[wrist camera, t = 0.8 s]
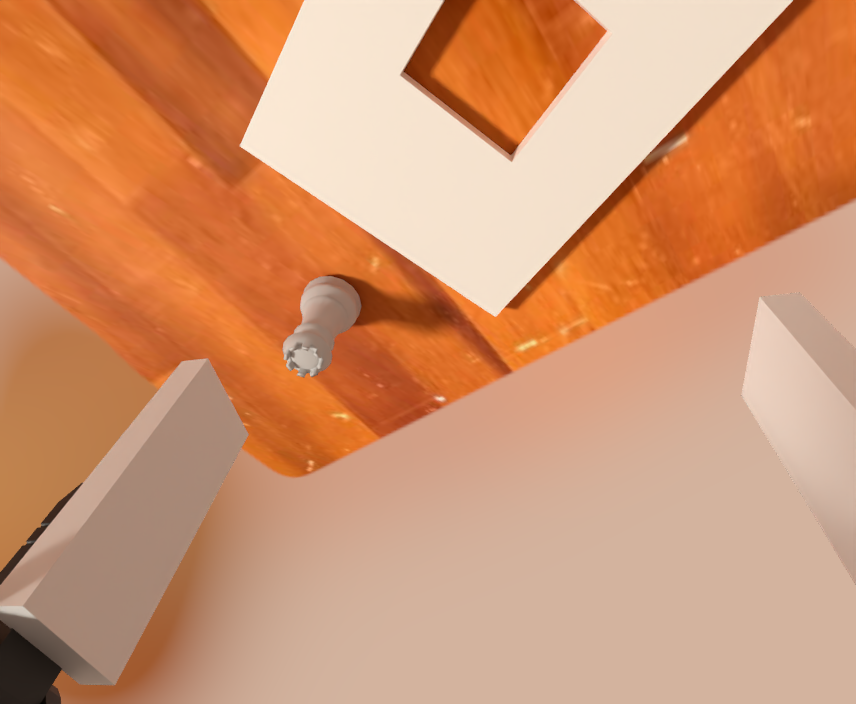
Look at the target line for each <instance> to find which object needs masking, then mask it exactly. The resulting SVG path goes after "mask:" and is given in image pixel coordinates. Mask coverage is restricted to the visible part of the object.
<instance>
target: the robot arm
mask: <svg viewBox="0 0 856 704" xmlns="http://www.w3.org/2000/svg"><path fill="white" fill-rule="evenodd" d="M742 397H743V399H744V401H745V402H746V404H747V406H748V407H749V409H750V411H751V412H752V414H753V416H754V417H755V419H756V421H757V422H758V424H759V426H760V427H761V429H762V431H763V432H764V434H765V435H766V437H767V439H768V440H769V442H770V443H771V445H772V447H773V449H774V450H775V452H776V454H777V455H778V457H779V459H780V460H781V462H782V464H783V465H784V467H785V469H786V470H787V472H788V474H789V475H790V477H791V478H792V480H793V482H794V484H795V485H796V487H797V488H798V490H799V492H800V493H801V495H802V497H803V498H804V500H805V502H806V503H807V505H808V507H809V508H810V510H811V512H812V513H813V515H814V517H815V518H816V520H817V522H818V523H819V525H820V527H821V528H822V530H823V532H824V533H825V535H826V536H827V538H828V540H829V541H830V543H831V545H832V546H833V548H834V550H835V551H836V553H837V554H838V556H839V558H840V560H841V561H842V563H843V565H844V566H845V568H846V570H847V571H848V573H849V575H850V576H851V578H852V580H853V581H854V583H855V585H856V349H855V348H854V347H853V346H852V345H851V344H850V343H849V342H848V341H847V340H846V339H845V338H844V337H843V336H842V335H841V334H840V333H839V332H838V331H837V330H836V329H835V328H834V327H833V326H832V324H830V323H829V321H828V320H827V319H825V317H824V316H823V315H822V314H821V313H820V312H819V311H818V310H817V309H816V308H815V307H814V306H812V305H811V303H810V302H809V301H808V300H807V299H806V298H805V297H804V296H802V294H801V293H790V294H781V295H773V296H764V297H760V298H759V303H758V309H757V314H756V321H755V325H754V330H753V336H752V341H751V347H750V352H749V358H748V363H747V369H746V374H745V380H744V385H743V390H742ZM248 435H249V434H248V432H247V431H246V429H245V427H244V425H243V423H242V421H241V419H240V418H239V416H238V414H237V412H236V410H235V408H234V406H233V404H232V403H231V401H230V399H229V397H228V395H227V393H226V391H225V389H224V388H223V386H222V384H221V382H220V380H219V378H218V376H217V374H216V373H215V371H214V369H213V367H212V365H211V363H210V361H209V359H199V360H190V361H182V362H181V363H180V364H179V366H178V367H177V368H176V369H175V371H174V372H173V373H172V374H171V376H170V377H169V378H168V379H167V380H166V382H165V383H164V384H163V385H162V387H161V388H160V389H159V390H158V392H157V393H156V394H155V395H154V397H153V398H152V399H151V400H150V401H149V403H148V404H147V405H146V406H145V408H144V409H143V410H142V411H141V413H140V414H139V415H138V416H137V418H136V419H135V420H134V421H133V422H132V424H131V425H130V426H129V427H128V429H127V430H126V431H125V432H124V433H123V435H122V436H121V437H120V438H119V440H118V441H117V442H116V443H115V445H114V446H113V447H112V448H111V450H110V451H109V452H108V453H107V454H106V456H105V457H104V458H103V459H102V461H101V462H100V463H99V464H98V465H97V467H96V468H95V469H94V470H93V472H92V473H91V474H90V475H89V477H88V478H87V479H86V480H85V482H84V483H81V484H80V485H79V486H78V487H76V488H75V489H74V490H73V491H72V492H70V493H69V494H68V495H67V496H66V497H64V498H63V499H62V500H61V501H59V502H58V503H57V505H56V506H55V507H54V508H53V510H52V511H51V512H50V513H49V514H48V516H47V517H46V518H45V519H44V521H43V522H42V523H41V525H42V526H41V527H40V528H37V529H36V530H35V531H34V532H33V534H32V535H31V536H30V537H29V538H28V540H27V544H26V545H25V546H22V547H21V548H20V549H19V551H18V552H17V553H16V554H15V555H14V557H13V558H12V559H11V560H10V561H9V563H8V564H7V565H6V567H5V568H4V569H3V570H2V571H1V572H0V704H61V697H60V694H59V691H58V689H57V688H56V687H55V686H53V685H52V684H53V683H54V681H55V679H56V678H57V676H58V674H59V673H60V671H61V670H63V671H64V672H65V673H67V674H68V675H69V676H70V677H72V678H73V679H74V680H75V681H77V682H78V683H79V684H86V685H88V684H89V685H115V684H116V682H117V680H118V678H119V676H120V674H121V672H122V671H123V669H124V667H125V665H126V663H127V661H128V659H129V658H130V656H131V654H132V652H133V650H134V648H135V646H136V644H137V643H138V640H139V639H140V637H141V635H142V633H143V631H144V629H145V628H146V626H147V624H148V622H149V620H150V618H151V616H152V615H153V613H154V611H155V609H156V607H157V605H158V603H159V601H160V600H161V598H162V595H163V594H164V592H165V590H166V588H167V586H168V584H169V583H170V581H171V579H172V577H173V575H174V573H175V571H176V569H177V568H178V566H179V564H180V562H181V560H182V558H183V556H184V554H185V553H186V551H187V549H188V547H189V545H190V543H191V541H192V540H193V538H194V536H195V534H196V532H197V530H198V528H199V526H200V524H201V523H202V521H203V519H204V517H205V515H206V513H207V512H208V510H209V508H210V506H211V504H212V502H213V500H214V498H215V496H216V495H217V493H218V491H219V489H220V487H221V485H222V483H223V482H224V480H225V478H226V476H227V474H228V472H229V470H230V468H231V466H232V465H233V463H234V461H235V459H236V457H237V455H238V453H239V452H240V450H241V448H242V446H243V444H244V442H245V440H246V438H247V437H248Z"/></svg>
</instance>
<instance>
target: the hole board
mask: <svg viewBox="0 0 856 704" xmlns="http://www.w3.org/2000/svg"><path fill="white" fill-rule="evenodd" d="M444 1H445V0H304V2H303V5H302V7H301V9H300V11H299V14H298V16H297V18H296V20H295V23H294V25H293V27H292V29H291V32H290V34H289V36H288V38H287V41H286V43H285V45H284V47H283V50H282V52H281V54H280V56H279V59H278V61H277V63H276V65H275V68H274V70H273V72H272V75H271V77H270V79H269V81H268V84H267V86H266V88H265V90H264V93H263V95H262V97H261V99H260V102H259V104H258V106H257V108H256V111H255V113H254V115H253V117H252V120H251V122H250V124H249V126H248V129H247V131H246V133H245V135H244V138H243V140H242V142H241V144H240V147H242V148H243V149H245V150H246V151H248V152H249V153H251V154H252V155H254V156H255V157H257V158H258V159H260V160H261V161H263V162H264V163H266V164H267V165H269V166H270V167H272V168H273V169H275V170H276V171H278V172H279V173H281V174H282V175H284V176H285V177H287V178H288V179H290V180H291V181H293V182H294V183H296V184H297V185H299V186H300V187H302V188H303V189H305V190H306V191H308V192H309V193H311V194H312V195H314V196H315V197H317V198H318V199H320V200H321V201H323V202H324V203H326V204H327V205H329V206H330V207H332V208H333V209H335V210H336V211H338V212H339V213H341V214H342V215H344V216H345V217H347V218H348V219H349V220H351V221H352V222H354V223H355V224H357V225H358V226H360V227H361V228H363V229H364V230H366V231H367V232H369V233H370V234H372V235H373V236H375V237H376V238H378V239H379V240H381V241H382V242H384V243H385V244H387V245H388V246H390V247H391V248H393V249H394V250H396V251H397V252H399V253H400V254H402V255H403V256H405V257H406V258H408V259H409V260H411V261H412V262H414V263H415V264H417V265H418V266H420V267H421V268H423V269H424V270H426V271H427V272H429V273H430V274H432V275H433V276H435V277H436V278H438V279H439V280H441V281H442V282H444V283H445V284H447V285H448V286H450V287H451V288H453V289H454V290H456V291H457V292H459V293H460V294H462V295H463V296H465V297H466V298H468V299H469V300H471V301H472V302H474V303H475V304H477V305H478V306H480V307H481V308H483V309H484V310H486V311H487V312H489V313H490V314H492V315H493V316H495V317H496V316H497V315H498V314H499V313H500V312H501V310H502V309H503V308H504V307H505V306H506V305H507V304H508V303H509V302H510V301H511V300H512V299H513V298H514V297H515V296H516V294H517V293H518V292H519V291H520V290H521V289H522V288H523V287H524V286H525V285H526V284H527V283H528V282H529V281H530V280H531V279H532V277H533V276H534V275H535V274H536V273H537V272H538V271H539V270H540V269H541V268H542V267H543V266H544V265H545V264H546V263H547V262H548V260H549V259H550V258H551V257H552V256H553V255H554V254H555V253H556V252H557V251H558V250H559V249H560V248H561V247H562V246H563V245H564V243H565V242H566V241H567V240H568V239H569V238H570V237H571V236H572V235H573V234H574V233H575V232H576V231H577V230H578V229H579V227H580V226H581V225H582V224H583V223H584V222H585V221H586V220H587V219H588V218H589V217H590V216H591V215H592V214H593V213H594V212H595V210H596V209H597V208H598V207H599V206H600V205H601V204H602V203H603V202H604V201H605V200H606V199H607V198H608V197H609V196H610V195H611V193H612V192H613V191H614V190H615V189H616V188H617V187H618V186H619V185H620V184H621V183H622V182H623V181H624V180H625V179H626V178H627V176H628V175H629V174H630V173H631V172H632V171H633V170H634V169H635V168H636V167H637V166H638V165H639V164H640V163H641V162H642V160H643V159H644V158H645V157H646V156H647V155H648V154H649V153H650V152H651V151H652V150H653V149H654V148H655V147H656V146H657V145H658V143H659V142H660V141H661V140H662V139H663V138H664V137H665V136H666V135H667V134H668V133H669V132H670V131H671V130H672V129H673V128H674V126H675V125H676V124H677V123H678V122H679V121H680V120H681V119H682V118H683V117H684V116H685V115H686V114H687V113H688V112H689V110H690V109H691V108H692V107H693V106H694V105H695V104H696V103H697V102H698V101H699V100H700V99H701V98H702V97H703V96H704V95H705V93H706V92H707V91H708V90H709V89H710V88H711V87H712V86H713V85H714V84H715V83H716V82H717V81H718V80H719V79H720V78H721V76H722V75H723V74H724V73H725V72H726V71H727V70H728V69H729V68H730V67H731V66H732V65H733V64H734V63H735V62H736V61H737V59H738V58H739V57H740V56H741V55H742V54H743V53H744V52H745V51H746V50H747V49H748V48H749V47H750V46H751V45H752V43H753V42H754V41H755V40H756V39H757V38H758V37H759V36H760V35H761V34H762V33H763V32H764V31H765V30H766V29H767V28H768V26H769V25H770V24H771V23H772V22H773V21H774V20H775V19H776V18H777V17H778V16H779V15H780V14H781V13H782V12H783V11H784V9H785V8H786V7H787V6H788V5H789V4H790V3H791V2H792V1H793V0H574V1H575V2H576V3H577V4H578V5H579V6H581V7H582V8H583V9H584V10H585V11H586V12H587V13H588V14H589V15H590V16H591V17H592V18H594V19H595V20H596V21H597V22H598V23H599V24H600V25H601V26H602V27H603V28H604V29H606V30H607V32H606V34H605V35H604V36H603V38H602V39H601V40H600V41H599V43H598V44H597V45H596V47H595V48H594V49H593V50H592V52H591V53H590V54H589V56H588V57H587V58H586V59H585V61H584V62H583V63H582V65H581V66H580V67H579V68H578V70H577V71H576V72H575V74H574V75H573V76H572V77H571V79H570V80H569V81H568V83H567V84H566V85H565V86H564V88H563V89H562V90H561V92H560V93H559V94H558V96H557V97H556V98H555V99H554V101H553V102H552V103H551V105H550V106H549V107H548V108H547V110H546V111H545V112H544V114H543V115H542V116H541V117H540V119H539V120H538V121H537V123H536V124H535V125H534V126H533V128H532V129H531V130H530V132H529V133H528V134H527V135H526V137H525V138H524V139H523V141H522V142H521V143H520V145H519V146H518V147H517V148H516V150H515V151H514V152H513V154H512V155H510V154H508V153H507V152H506V151H505V150H503V149H502V148H501V147H499V146H498V145H497V144H496V143H494V142H493V141H492V140H491V139H489V138H488V137H487V136H485V135H484V134H483V133H482V132H480V131H479V130H478V129H476V128H475V127H474V126H473V125H471V124H470V123H469V122H467V121H466V120H465V119H464V118H462V117H461V116H460V115H459V114H457V113H456V112H455V111H453V110H452V109H451V108H450V107H448V106H447V105H446V104H444V103H443V102H442V101H441V100H439V99H438V98H437V97H436V96H434V95H433V94H432V93H430V92H429V91H428V90H427V89H425V88H424V87H423V86H421V85H420V84H419V83H418V82H416V81H415V80H414V79H412V78H411V77H410V76H409V75H407V74H406V73H405V72H404V69H405V68H406V66H407V64H408V63H409V61H410V59H411V57H412V56H413V54H414V52H415V51H416V49H417V47H418V45H419V44H420V42H421V40H422V39H423V37H424V35H425V34H426V32H427V30H428V28H429V27H430V25H431V23H432V22H433V20H434V18H435V16H436V15H437V13H438V11H439V10H440V8H441V6H442V5H443V3H444Z"/></svg>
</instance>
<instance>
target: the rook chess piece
mask: <svg viewBox="0 0 856 704" xmlns="http://www.w3.org/2000/svg"><path fill="white" fill-rule="evenodd" d="M300 309H301V312H302V316H303V320H302V324H301V325H299V326H298V327H297V328H296V329H295V331H294V334H292V335H290V336H288V338H287V339H286V340H285V341H284V344H283V353H284V360H287V361H288V362H287V364H286V367H287V368H288V369H289V370H290V371H291V370H293V369H294V368H295V369H297V370H298V371H299V372H298V374H297V375H298V376H301V377H305V375H306V373H310V375H311V377H313V376H315V375H318V372H320V371H323V370H325V369H326V368H327V367H328V366H329V365H330V364H331V360H332V353H331V351H332V350H333V347H334V339H335V337H336V336H337V335H338V334H340V333H342V332H344V331H347V330H348V329H349V328H350V327H351V326H352V325H353V324H354V323H355V322H356V319H357V317H358V316H359V314H360V310H361V302H360V297H359V295H358V293H357V292H356V291H355V289H354V288H353V286H351V285H350V284H348V283H347V282H346V281H344V280H343V279H339V278H336V277H333V276H324V277H318V278H316V279H314V280H312V281H310V283H309V284H308V285H307V287H306V288H305V289H304V293H303V295H302V298H301V304H300Z"/></svg>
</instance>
